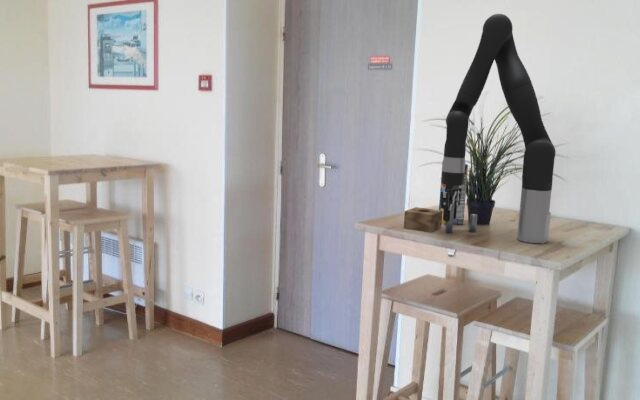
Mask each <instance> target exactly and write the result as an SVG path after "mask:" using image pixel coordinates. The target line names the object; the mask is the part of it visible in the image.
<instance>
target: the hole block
mask: <svg viewBox="0 0 640 400" xmlns="http://www.w3.org/2000/svg"><path fill="white" fill-rule="evenodd" d="M403 218H404V219H403V228H404V229H408V230H409V229H410V230H415V231H420V230H421V231H422V232H426V231H427V233H432V232H435V231H436V230H438V229H442V225H443V223H442V211H440V210H439V209H433V208H423V207H417V206H414V208H413V207H412V208H410V209H407V210H404V217H403Z"/></svg>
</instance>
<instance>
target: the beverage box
mask: <svg viewBox="0 0 640 400" xmlns="http://www.w3.org/2000/svg"><path fill="white" fill-rule="evenodd" d="M441 164H443V160H442V163H441ZM468 168H469V165H468V164H466V163H465V174H464V184H463V185H461V186H459V188H462V193H461V200H460V205H458V208H457V214H456V218H455V219H453V226H464V221H465V206H466V194H467V181H468ZM441 177H442V173H441ZM441 177H440V178H441ZM445 187H446V185H445V184H442V183H441V182H440V189H439V190H440V191H439V206H438V210H440V211H442V225H443V224H444V225H445V226H446V221H444V220H443V213H444V210H443V209H442V208H441V192H442V191H443V192H444V190H445ZM446 206H447V204H446Z"/></svg>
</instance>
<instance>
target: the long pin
mask: <svg viewBox="0 0 640 400" xmlns="http://www.w3.org/2000/svg"><path fill="white" fill-rule="evenodd" d="M454 204H455V201H454V203H453V204H452V206H451V213H450V221H446V225H445V231H444V233H446V234H453V230H454V229H453V228H454V225H453V217H454Z"/></svg>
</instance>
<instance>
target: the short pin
mask: <svg viewBox="0 0 640 400" xmlns="http://www.w3.org/2000/svg"><path fill="white" fill-rule="evenodd" d="M477 222H478V214H477V213H470V214H469V224H468V232H469V233H476V232H477V224H478V223H477Z"/></svg>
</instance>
